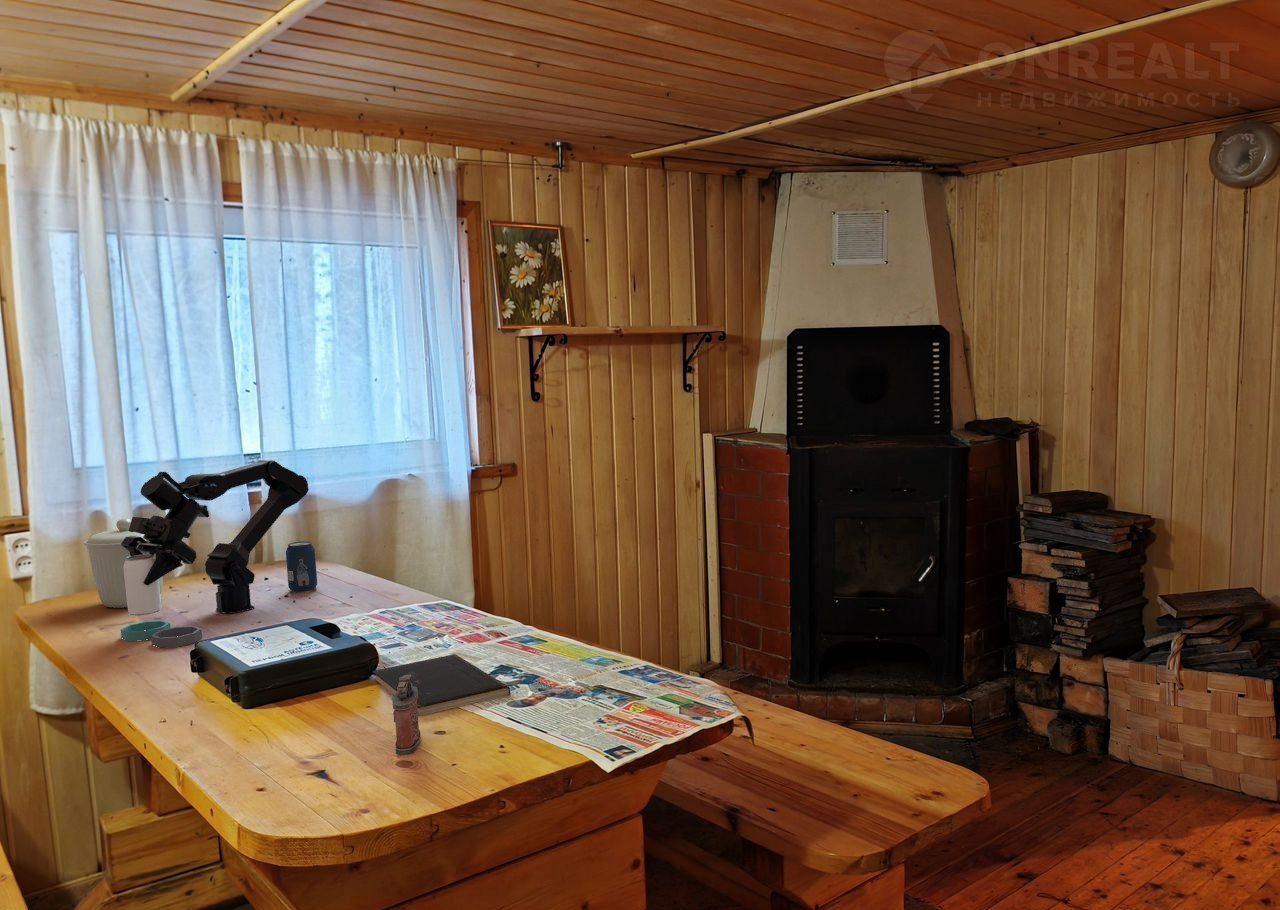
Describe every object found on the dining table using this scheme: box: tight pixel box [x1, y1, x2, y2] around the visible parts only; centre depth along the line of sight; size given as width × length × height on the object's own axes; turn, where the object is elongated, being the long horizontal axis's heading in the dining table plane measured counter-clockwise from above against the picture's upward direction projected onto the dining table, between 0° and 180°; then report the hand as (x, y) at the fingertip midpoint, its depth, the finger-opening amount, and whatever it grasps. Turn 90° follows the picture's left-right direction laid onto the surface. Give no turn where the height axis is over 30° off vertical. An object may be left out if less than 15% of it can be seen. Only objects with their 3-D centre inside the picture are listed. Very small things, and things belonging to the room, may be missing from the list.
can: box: [123, 554, 162, 616], centre depth 212 cm, size 6×6×12 cm
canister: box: [83, 518, 164, 609], centre depth 243 cm, size 18×18×21 cm
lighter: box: [392, 675, 422, 757], centre depth 145 cm, size 8×3×10 cm, turn 5°
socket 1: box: [120, 620, 171, 642], centre depth 213 cm, size 9×9×2 cm
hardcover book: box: [372, 653, 511, 717], centre depth 170 cm, size 16×23×2 cm
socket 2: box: [151, 625, 203, 649], centre depth 207 cm, size 9×9×2 cm
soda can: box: [285, 540, 318, 594], centre depth 250 cm, size 7×7×12 cm
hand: (136, 583), depth 211 cm, fingers closed on can, 6 cm apart
